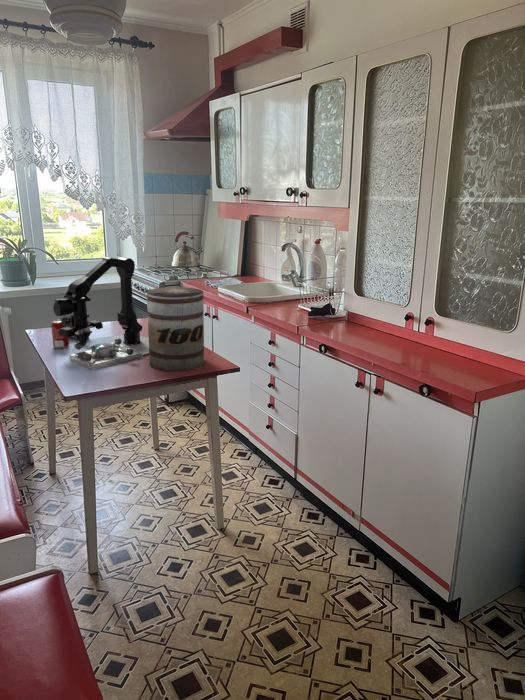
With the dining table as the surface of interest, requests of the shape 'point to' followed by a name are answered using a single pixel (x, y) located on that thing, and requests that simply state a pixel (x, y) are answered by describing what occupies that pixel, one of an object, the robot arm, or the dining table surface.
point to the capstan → (103, 349)
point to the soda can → (58, 339)
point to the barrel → (175, 328)
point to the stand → (105, 358)
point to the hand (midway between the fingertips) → (82, 347)
